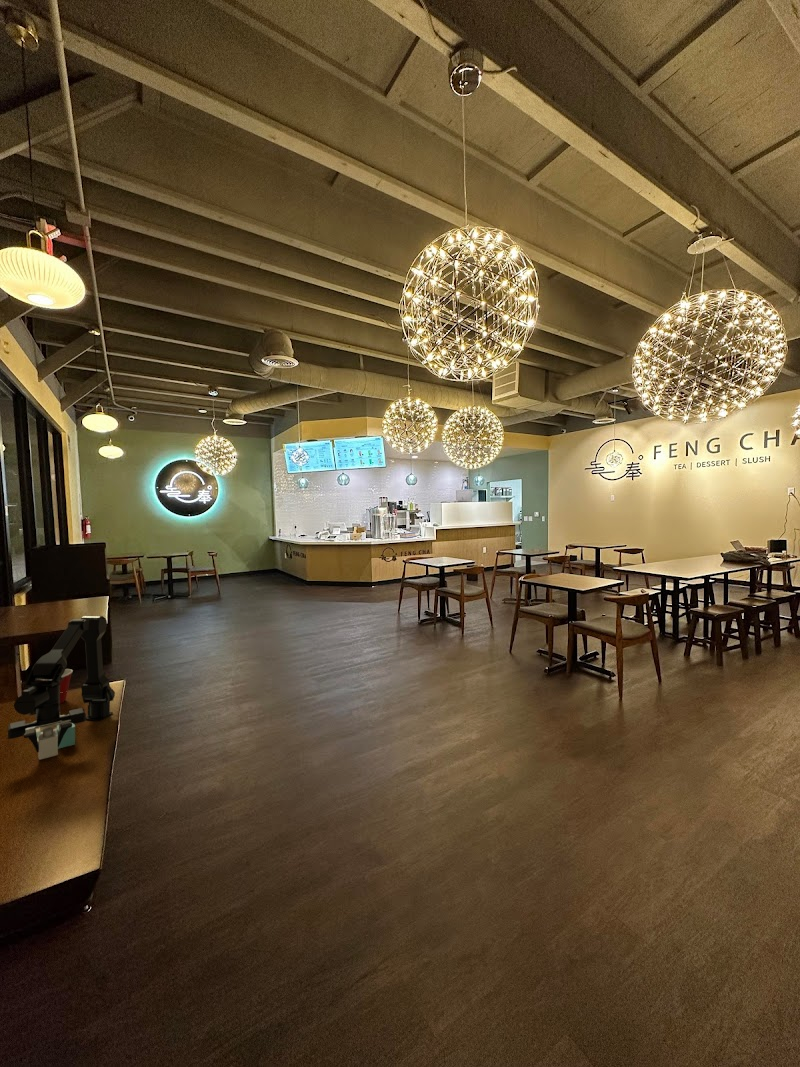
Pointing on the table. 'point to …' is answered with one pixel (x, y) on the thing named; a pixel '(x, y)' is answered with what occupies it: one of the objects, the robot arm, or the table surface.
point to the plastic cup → (64, 684)
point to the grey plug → (48, 743)
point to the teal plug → (68, 737)
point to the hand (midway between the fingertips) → (47, 749)
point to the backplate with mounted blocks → (40, 729)
